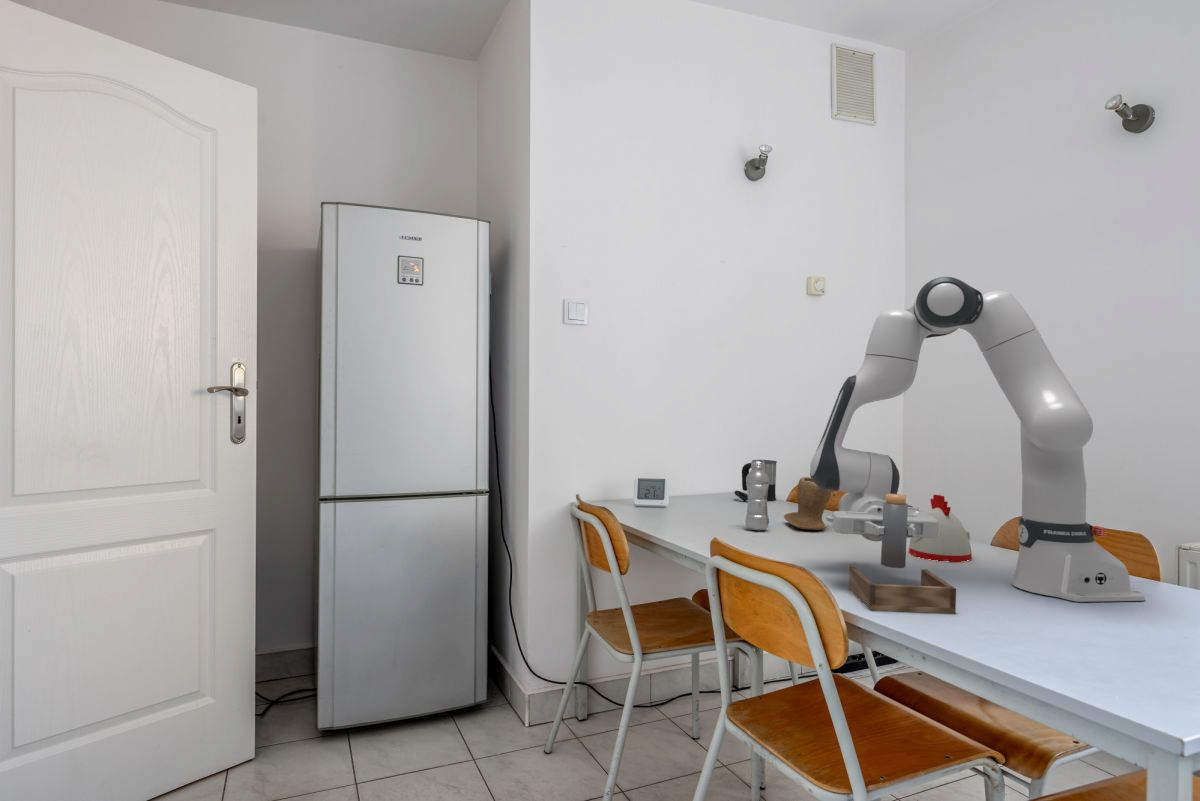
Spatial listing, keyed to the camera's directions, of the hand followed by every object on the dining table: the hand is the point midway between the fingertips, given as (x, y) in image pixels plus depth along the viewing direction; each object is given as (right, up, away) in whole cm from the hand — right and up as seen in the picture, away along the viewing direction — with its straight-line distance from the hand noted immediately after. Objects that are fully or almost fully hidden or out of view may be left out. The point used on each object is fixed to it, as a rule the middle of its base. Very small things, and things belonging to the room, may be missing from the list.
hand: (896, 532), depth 135 cm
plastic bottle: (-12, -12, +68) cm, 70 cm away
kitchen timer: (+27, -13, +39) cm, 49 cm away
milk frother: (+2, -12, +129) cm, 129 cm away
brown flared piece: (+5, -13, +74) cm, 75 cm away
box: (0, -13, -1) cm, 13 cm away
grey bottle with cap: (0, -7, +1) cm, 7 cm away
